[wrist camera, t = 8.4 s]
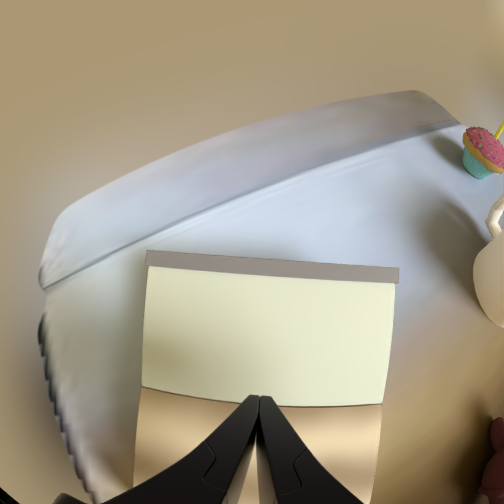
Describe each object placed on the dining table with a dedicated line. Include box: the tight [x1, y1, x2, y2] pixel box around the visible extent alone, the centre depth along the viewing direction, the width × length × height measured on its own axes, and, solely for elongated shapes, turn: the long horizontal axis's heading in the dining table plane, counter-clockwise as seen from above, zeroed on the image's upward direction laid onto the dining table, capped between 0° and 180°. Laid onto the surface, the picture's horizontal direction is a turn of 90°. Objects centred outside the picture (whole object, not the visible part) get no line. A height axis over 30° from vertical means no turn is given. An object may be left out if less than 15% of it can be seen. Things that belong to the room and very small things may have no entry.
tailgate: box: [142, 250, 399, 406], centre depth 17 cm, size 2×16×9 cm
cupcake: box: [462, 121, 504, 179], centre depth 26 cm, size 9×8×12 cm
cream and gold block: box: [133, 387, 382, 504], centre depth 13 cm, size 12×16×7 cm
